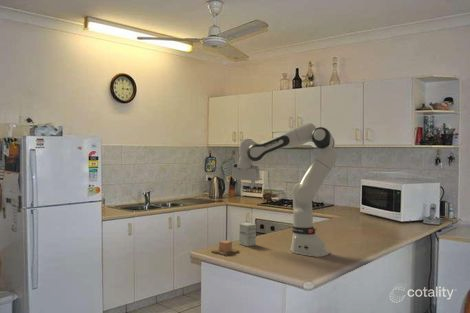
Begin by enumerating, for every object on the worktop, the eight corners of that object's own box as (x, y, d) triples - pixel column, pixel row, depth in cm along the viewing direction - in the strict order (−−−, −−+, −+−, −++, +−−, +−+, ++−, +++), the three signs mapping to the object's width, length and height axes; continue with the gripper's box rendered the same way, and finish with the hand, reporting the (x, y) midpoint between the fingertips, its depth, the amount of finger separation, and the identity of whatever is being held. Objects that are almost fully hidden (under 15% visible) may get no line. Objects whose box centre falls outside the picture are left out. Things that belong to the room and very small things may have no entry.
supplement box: (238, 244, 248) (239, 223, 248) (247, 242, 253) (248, 222, 253) (246, 246, 243) (247, 225, 243) (256, 244, 248) (256, 224, 247)
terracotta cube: (231, 250, 229) (231, 241, 229) (225, 252, 225) (225, 243, 225) (225, 249, 232) (225, 240, 232) (219, 250, 229) (219, 241, 228)
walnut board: (239, 252, 229) (239, 250, 229) (225, 256, 221) (225, 254, 221) (224, 248, 237) (224, 247, 237) (211, 252, 228) (211, 250, 228)
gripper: (262, 165, 250) (262, 188, 250) (237, 164, 264) (236, 185, 264) (256, 166, 245) (255, 189, 246) (230, 164, 259) (230, 186, 259)
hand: (245, 187), depth 255 cm, fingers open, 8 cm apart
